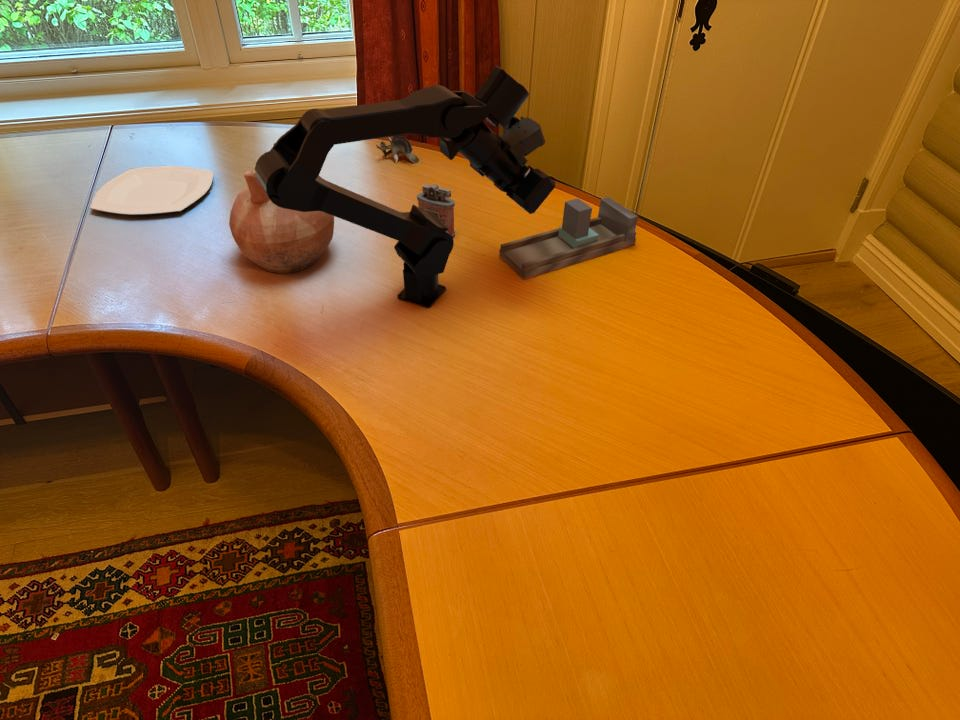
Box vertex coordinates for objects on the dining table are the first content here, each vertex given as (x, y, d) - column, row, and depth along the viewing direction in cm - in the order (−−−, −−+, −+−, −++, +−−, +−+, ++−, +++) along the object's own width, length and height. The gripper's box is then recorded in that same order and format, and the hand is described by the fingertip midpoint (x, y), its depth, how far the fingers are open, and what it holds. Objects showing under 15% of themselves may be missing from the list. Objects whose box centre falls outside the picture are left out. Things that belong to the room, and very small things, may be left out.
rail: (524, 279, 110) (527, 248, 106) (499, 256, 116) (500, 225, 112) (634, 245, 120) (641, 215, 116) (606, 225, 126) (611, 196, 122)
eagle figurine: (376, 162, 144) (412, 159, 142) (374, 131, 143) (410, 127, 141) (388, 168, 152) (422, 164, 150) (386, 138, 151) (421, 135, 149)
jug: (315, 290, 107) (294, 184, 93) (221, 277, 109) (188, 171, 96) (353, 238, 120) (339, 138, 107) (268, 227, 123) (244, 129, 109)
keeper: (576, 250, 115) (581, 213, 110) (558, 236, 119) (562, 199, 114) (597, 244, 117) (603, 207, 112) (578, 230, 121) (583, 194, 116)
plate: (190, 224, 124) (187, 215, 122) (77, 220, 124) (73, 212, 123) (227, 175, 141) (225, 167, 140) (128, 172, 141) (125, 164, 140)
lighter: (415, 231, 123) (412, 185, 116) (424, 224, 125) (422, 178, 118) (449, 241, 120) (449, 194, 113) (458, 234, 122) (457, 187, 116)
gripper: (551, 126, 87) (600, 183, 99) (486, 88, 99) (537, 142, 111) (501, 188, 90) (555, 236, 101) (444, 144, 102) (498, 191, 113)
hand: (536, 198), depth 106 cm, fingers closed
